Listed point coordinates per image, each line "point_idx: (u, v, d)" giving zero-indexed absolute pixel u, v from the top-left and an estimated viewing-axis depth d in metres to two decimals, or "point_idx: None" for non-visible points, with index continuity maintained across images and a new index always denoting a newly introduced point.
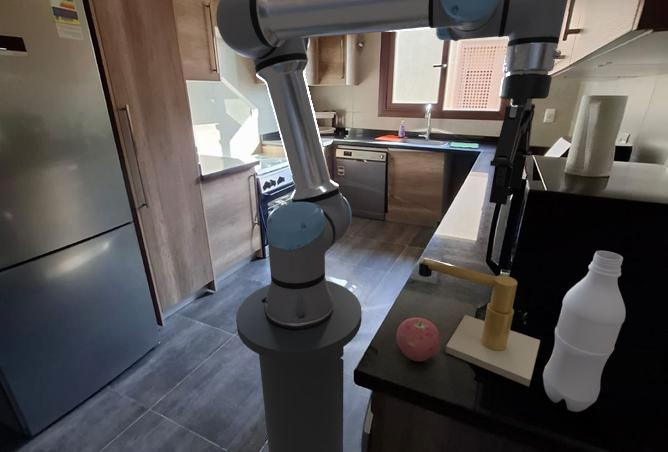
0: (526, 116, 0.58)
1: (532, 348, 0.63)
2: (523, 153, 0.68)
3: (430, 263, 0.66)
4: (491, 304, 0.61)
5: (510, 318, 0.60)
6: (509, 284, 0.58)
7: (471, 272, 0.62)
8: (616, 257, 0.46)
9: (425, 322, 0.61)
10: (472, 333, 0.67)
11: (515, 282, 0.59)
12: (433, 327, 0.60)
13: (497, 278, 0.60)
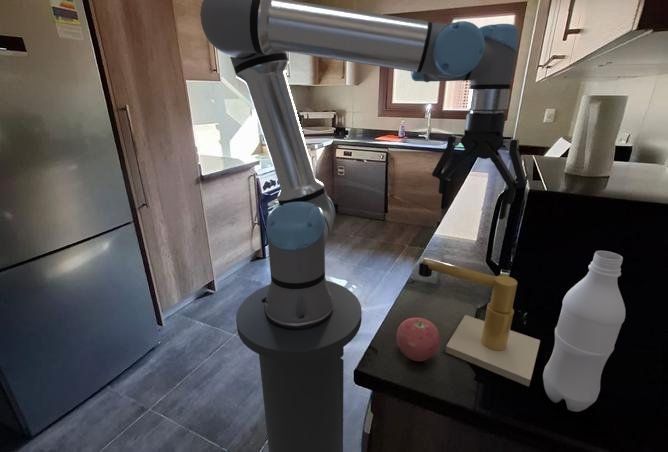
0: None
1: (532, 348, 0.63)
2: (446, 177, 0.79)
3: (430, 263, 0.66)
4: (491, 304, 0.61)
5: (510, 318, 0.60)
6: (509, 284, 0.58)
7: (471, 272, 0.62)
8: (616, 257, 0.46)
9: (425, 322, 0.61)
10: (472, 333, 0.67)
11: (515, 282, 0.59)
12: (433, 327, 0.60)
13: (497, 278, 0.60)
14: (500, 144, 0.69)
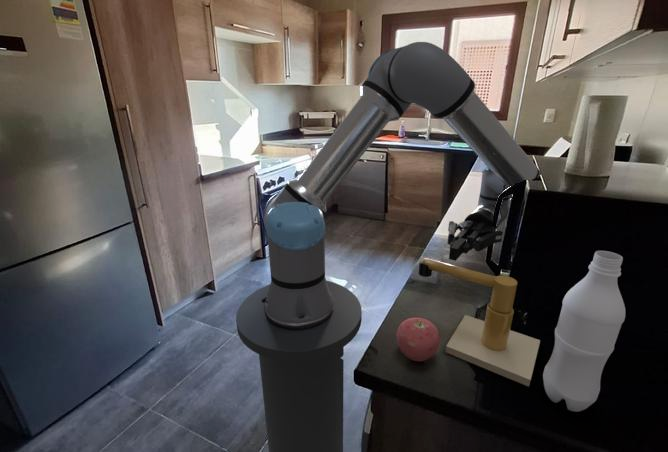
0: None
1: (532, 348, 0.63)
2: None
3: (430, 263, 0.66)
4: (491, 304, 0.61)
5: (510, 318, 0.60)
6: (509, 284, 0.58)
7: (471, 272, 0.62)
8: (616, 257, 0.46)
9: (425, 322, 0.61)
10: (472, 333, 0.67)
11: (515, 282, 0.59)
12: (433, 327, 0.60)
13: (497, 278, 0.60)
14: (490, 229, 0.82)
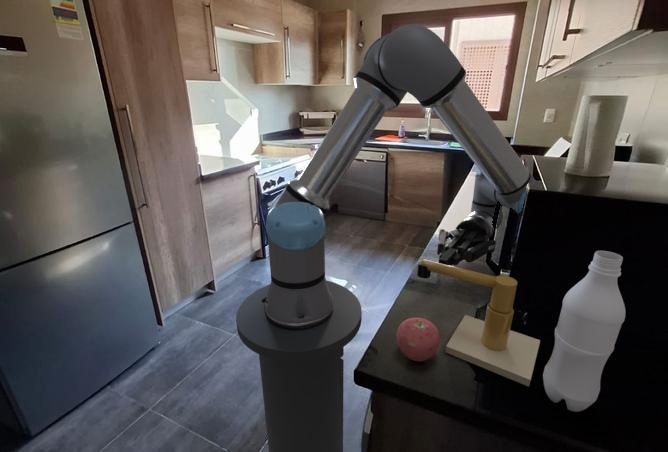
0: None
1: (532, 348, 0.63)
2: None
3: (429, 264, 0.66)
4: (491, 304, 0.61)
5: (510, 318, 0.60)
6: (509, 284, 0.58)
7: (471, 273, 0.62)
8: (616, 257, 0.46)
9: (425, 322, 0.61)
10: (472, 333, 0.67)
11: (515, 282, 0.59)
12: (433, 327, 0.60)
13: (497, 278, 0.60)
14: (483, 238, 0.77)
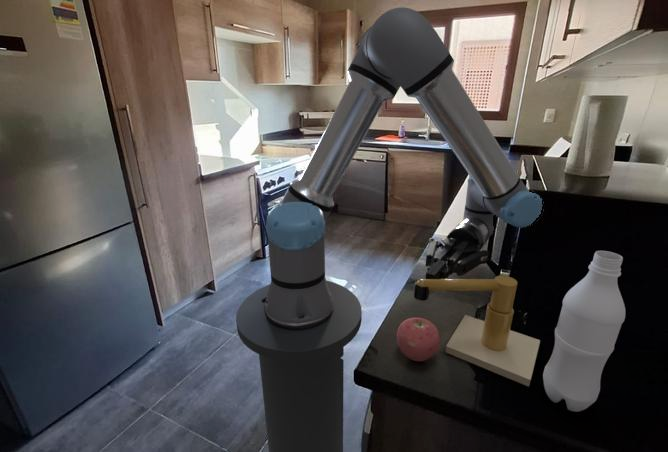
0: None
1: (532, 348, 0.63)
2: None
3: (430, 284, 0.59)
4: (496, 307, 0.60)
5: (510, 318, 0.60)
6: (513, 284, 0.58)
7: (474, 281, 0.59)
8: (616, 257, 0.46)
9: (425, 322, 0.61)
10: (472, 333, 0.67)
11: (513, 279, 0.59)
12: (433, 327, 0.60)
13: (499, 280, 0.59)
14: (475, 248, 0.72)
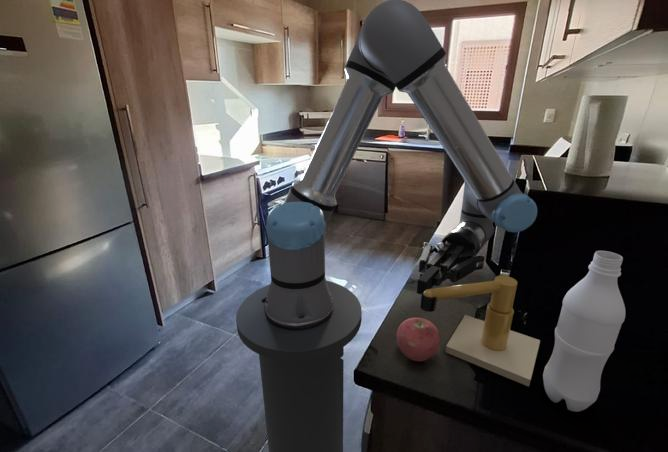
0: None
1: (532, 348, 0.63)
2: None
3: (438, 293, 0.56)
4: (498, 308, 0.60)
5: (510, 318, 0.60)
6: (514, 283, 0.58)
7: (478, 285, 0.58)
8: (616, 257, 0.46)
9: (425, 322, 0.61)
10: (472, 333, 0.67)
11: (512, 278, 0.60)
12: (433, 327, 0.60)
13: (500, 281, 0.59)
14: (471, 253, 0.69)
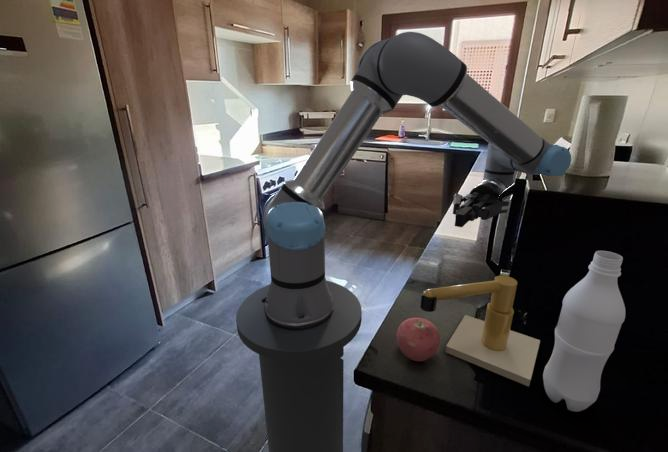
0: None
1: (532, 348, 0.63)
2: None
3: (438, 293, 0.56)
4: (498, 308, 0.60)
5: (510, 318, 0.60)
6: (514, 283, 0.58)
7: (478, 285, 0.58)
8: (616, 257, 0.46)
9: (425, 322, 0.61)
10: (472, 333, 0.67)
11: (512, 278, 0.60)
12: (433, 327, 0.60)
13: (500, 281, 0.59)
14: (496, 200, 0.81)
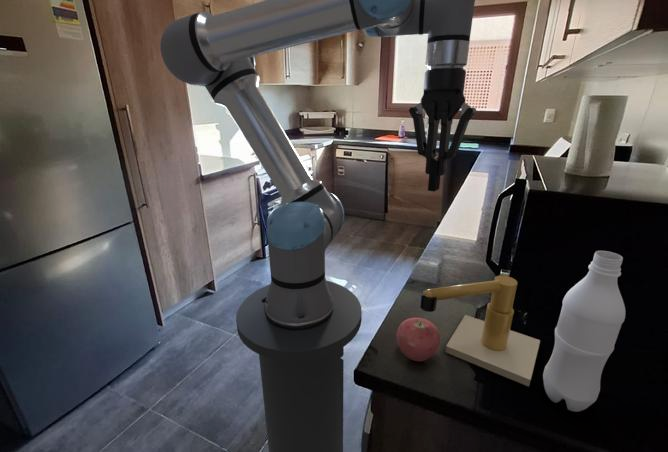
0: None
1: (532, 348, 0.63)
2: (434, 154, 0.71)
3: (438, 293, 0.56)
4: (498, 308, 0.60)
5: (510, 318, 0.60)
6: (514, 283, 0.58)
7: (478, 285, 0.58)
8: (616, 257, 0.46)
9: (425, 322, 0.61)
10: (472, 333, 0.67)
11: (512, 278, 0.60)
12: (433, 327, 0.60)
13: (500, 281, 0.59)
14: (458, 105, 0.64)
